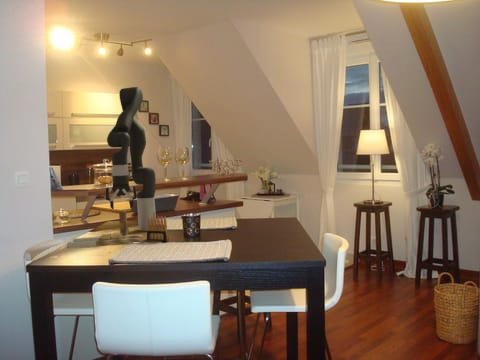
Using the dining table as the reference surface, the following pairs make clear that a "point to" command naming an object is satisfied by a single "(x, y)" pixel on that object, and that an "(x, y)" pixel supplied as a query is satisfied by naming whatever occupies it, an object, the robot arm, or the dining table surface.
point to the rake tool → (123, 223)
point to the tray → (82, 242)
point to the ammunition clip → (157, 229)
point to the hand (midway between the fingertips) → (121, 208)
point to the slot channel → (120, 240)
